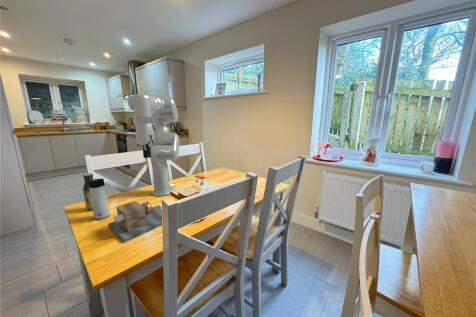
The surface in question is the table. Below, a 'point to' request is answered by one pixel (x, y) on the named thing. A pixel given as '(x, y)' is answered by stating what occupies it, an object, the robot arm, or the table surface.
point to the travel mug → (98, 199)
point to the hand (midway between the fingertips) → (147, 157)
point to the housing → (136, 220)
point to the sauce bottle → (87, 191)
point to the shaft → (147, 205)
